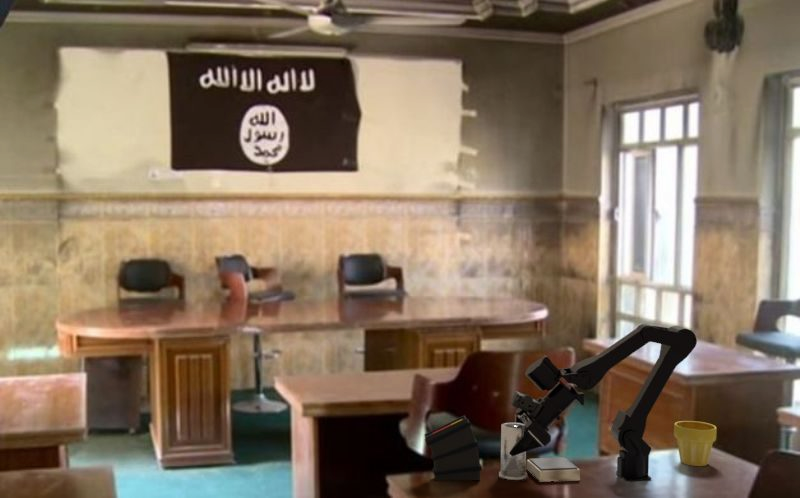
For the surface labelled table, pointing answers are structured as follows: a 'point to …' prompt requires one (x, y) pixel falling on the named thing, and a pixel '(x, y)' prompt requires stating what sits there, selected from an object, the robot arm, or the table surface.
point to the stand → (553, 469)
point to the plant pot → (694, 441)
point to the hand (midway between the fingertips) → (507, 449)
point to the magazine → (454, 451)
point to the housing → (510, 464)
